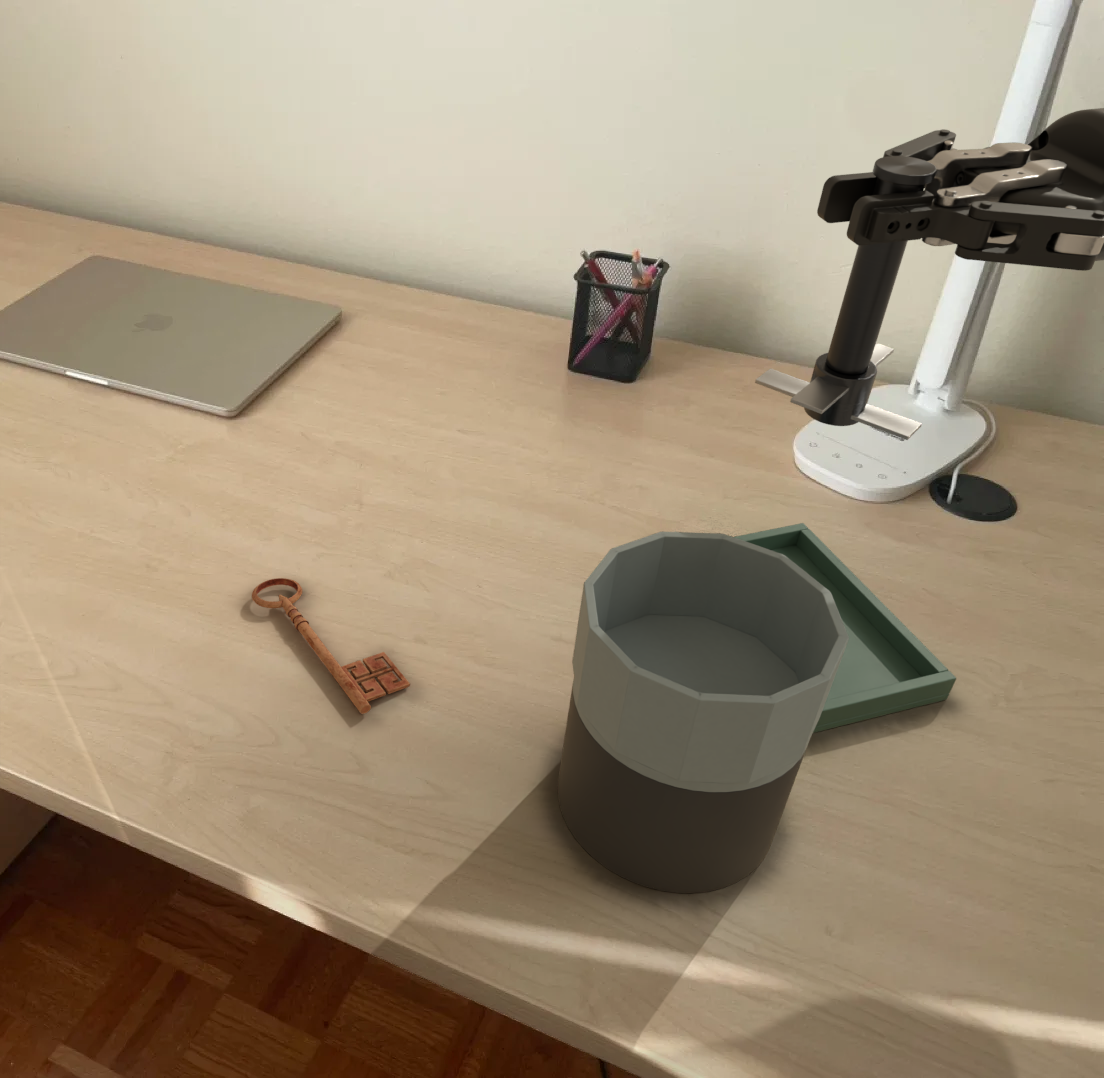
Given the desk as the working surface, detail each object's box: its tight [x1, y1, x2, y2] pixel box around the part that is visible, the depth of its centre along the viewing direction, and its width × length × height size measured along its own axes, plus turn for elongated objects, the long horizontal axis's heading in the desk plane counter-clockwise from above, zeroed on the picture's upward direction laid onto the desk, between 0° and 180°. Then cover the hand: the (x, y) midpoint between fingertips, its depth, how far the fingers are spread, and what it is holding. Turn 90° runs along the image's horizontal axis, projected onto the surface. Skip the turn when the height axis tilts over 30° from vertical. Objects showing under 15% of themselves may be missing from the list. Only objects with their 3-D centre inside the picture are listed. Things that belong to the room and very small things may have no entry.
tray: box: [733, 522, 957, 734], centre depth 76 cm, size 18×14×2 cm
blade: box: [754, 156, 937, 441], centre depth 56 cm, size 9×9×14 cm
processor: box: [557, 531, 849, 894], centre depth 60 cm, size 13×13×16 cm
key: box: [251, 577, 411, 715], centre depth 76 cm, size 6×1×15 cm
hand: (840, 210), depth 52 cm, fingers closed on blade
